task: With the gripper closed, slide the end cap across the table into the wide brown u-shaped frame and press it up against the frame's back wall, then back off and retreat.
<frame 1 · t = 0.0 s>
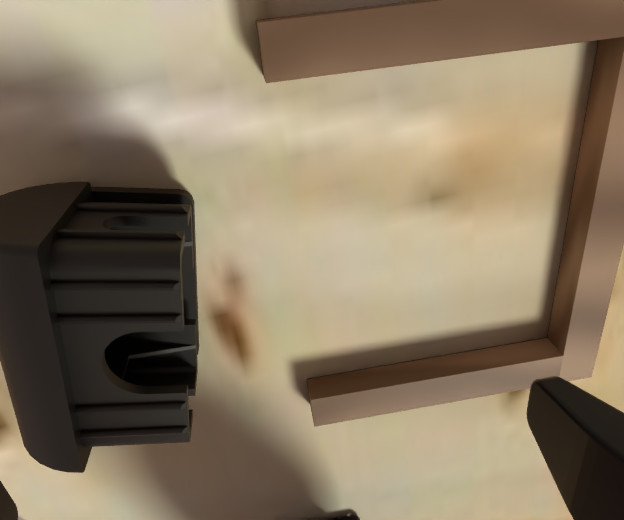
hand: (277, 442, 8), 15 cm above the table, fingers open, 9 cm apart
brown u-shaped frame: (431, 231, 24), on the table
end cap: (119, 276, 23), on the table
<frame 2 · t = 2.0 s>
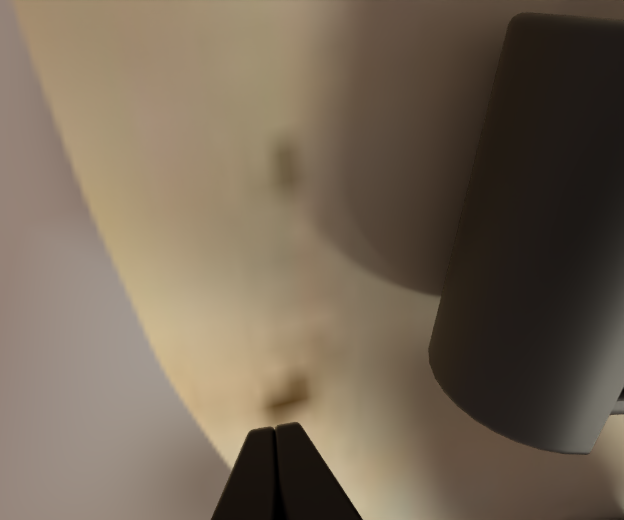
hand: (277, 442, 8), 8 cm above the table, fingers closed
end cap: (521, 183, 16), on the table
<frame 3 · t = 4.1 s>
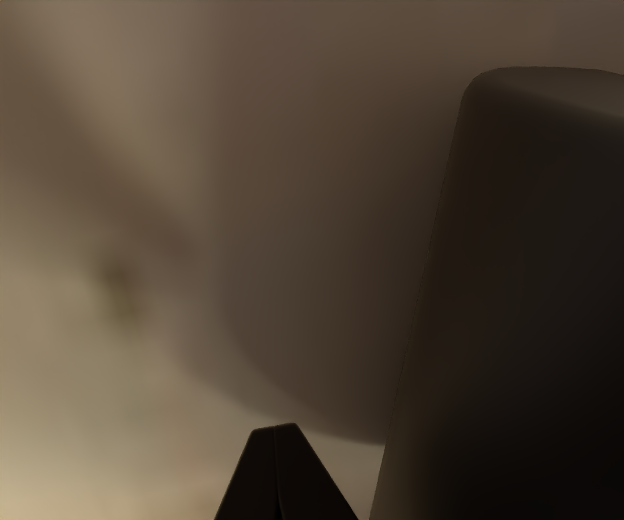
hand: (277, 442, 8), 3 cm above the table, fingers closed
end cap: (504, 300, 11), on the table, touching gripper
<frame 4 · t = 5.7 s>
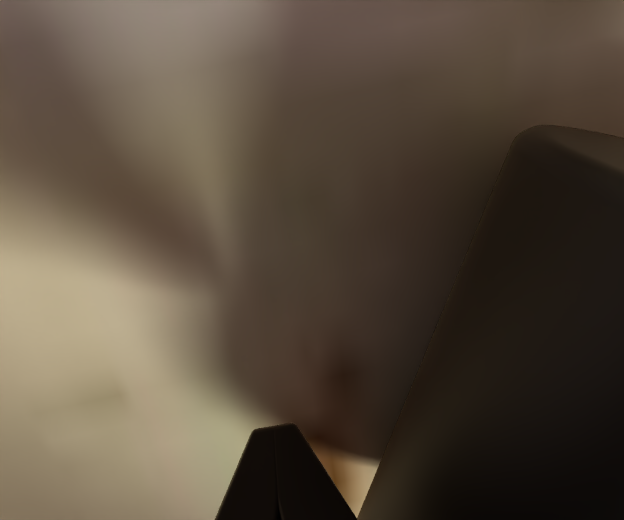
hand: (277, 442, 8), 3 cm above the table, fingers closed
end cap: (499, 337, 11), on the table, touching gripper
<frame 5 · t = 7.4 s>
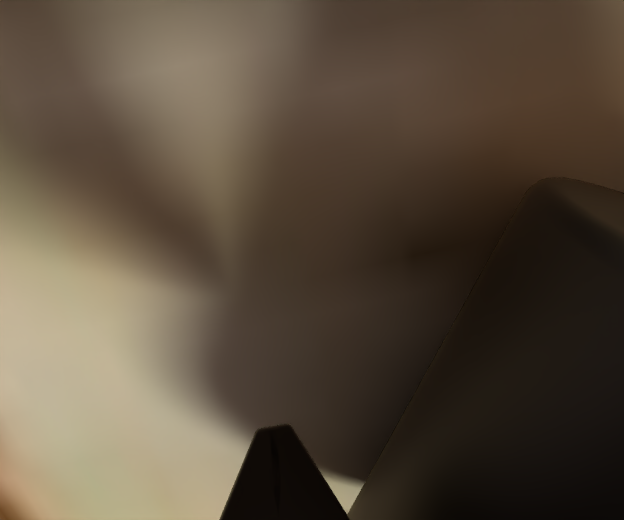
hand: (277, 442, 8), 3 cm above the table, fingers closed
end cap: (486, 368, 12), on the table, touching gripper, brown u-shaped frame
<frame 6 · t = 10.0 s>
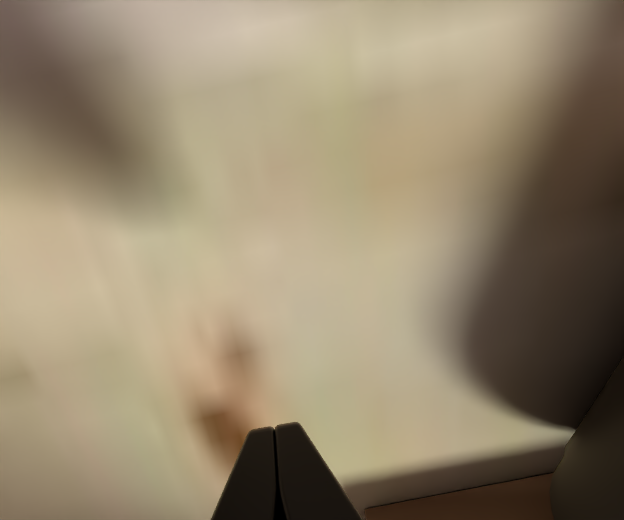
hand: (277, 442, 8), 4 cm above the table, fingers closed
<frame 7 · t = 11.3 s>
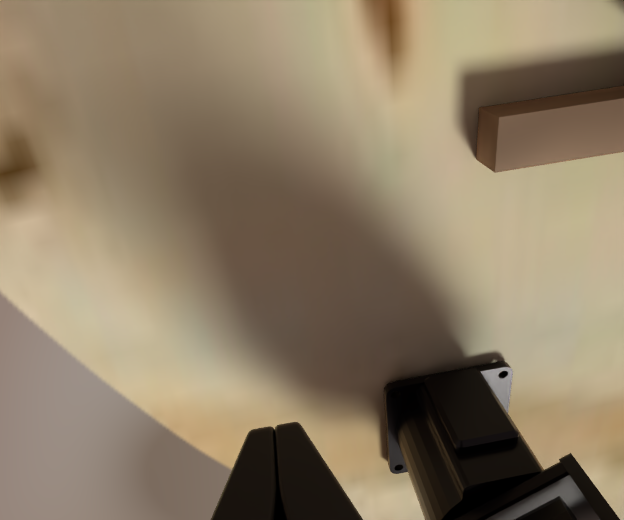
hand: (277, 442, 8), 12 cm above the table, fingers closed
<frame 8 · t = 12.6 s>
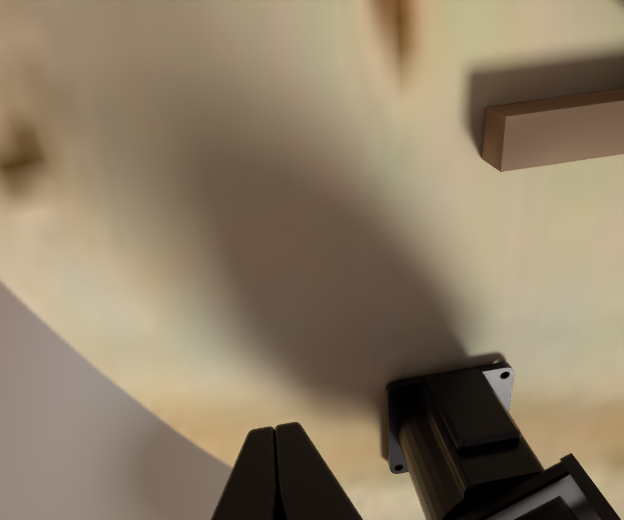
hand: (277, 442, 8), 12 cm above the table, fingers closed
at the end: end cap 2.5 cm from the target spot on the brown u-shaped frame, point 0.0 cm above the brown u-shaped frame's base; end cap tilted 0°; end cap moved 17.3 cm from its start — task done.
